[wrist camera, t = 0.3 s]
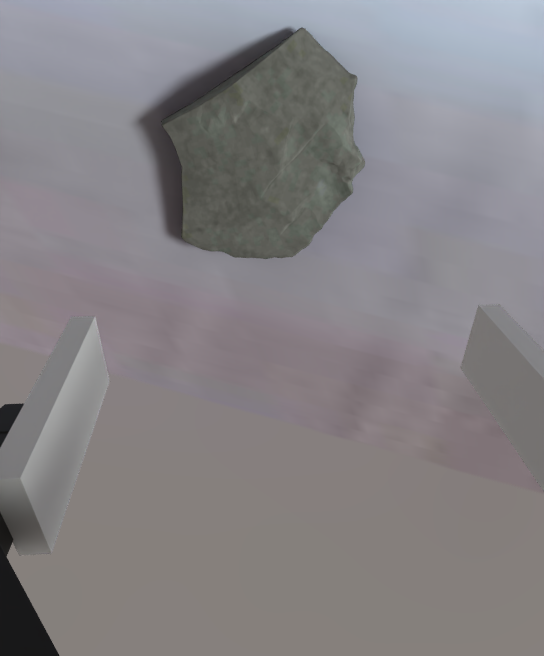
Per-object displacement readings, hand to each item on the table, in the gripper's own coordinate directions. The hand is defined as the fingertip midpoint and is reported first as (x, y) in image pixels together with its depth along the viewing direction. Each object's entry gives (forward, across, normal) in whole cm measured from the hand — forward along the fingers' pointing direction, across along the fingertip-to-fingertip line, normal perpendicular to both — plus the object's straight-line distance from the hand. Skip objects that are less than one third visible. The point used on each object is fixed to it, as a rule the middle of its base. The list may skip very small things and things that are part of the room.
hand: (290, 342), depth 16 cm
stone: (+28, +1, -1) cm, 28 cm away
